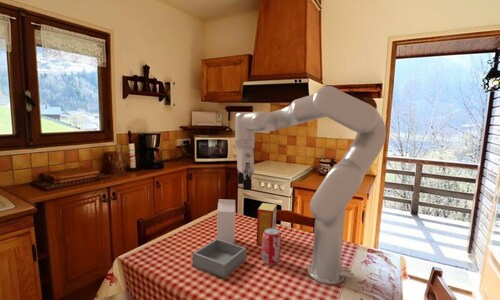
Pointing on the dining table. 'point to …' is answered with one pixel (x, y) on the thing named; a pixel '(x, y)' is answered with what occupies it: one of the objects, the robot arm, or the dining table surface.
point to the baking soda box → (265, 219)
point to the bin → (219, 258)
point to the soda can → (271, 246)
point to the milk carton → (226, 220)
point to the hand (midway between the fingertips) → (244, 186)
